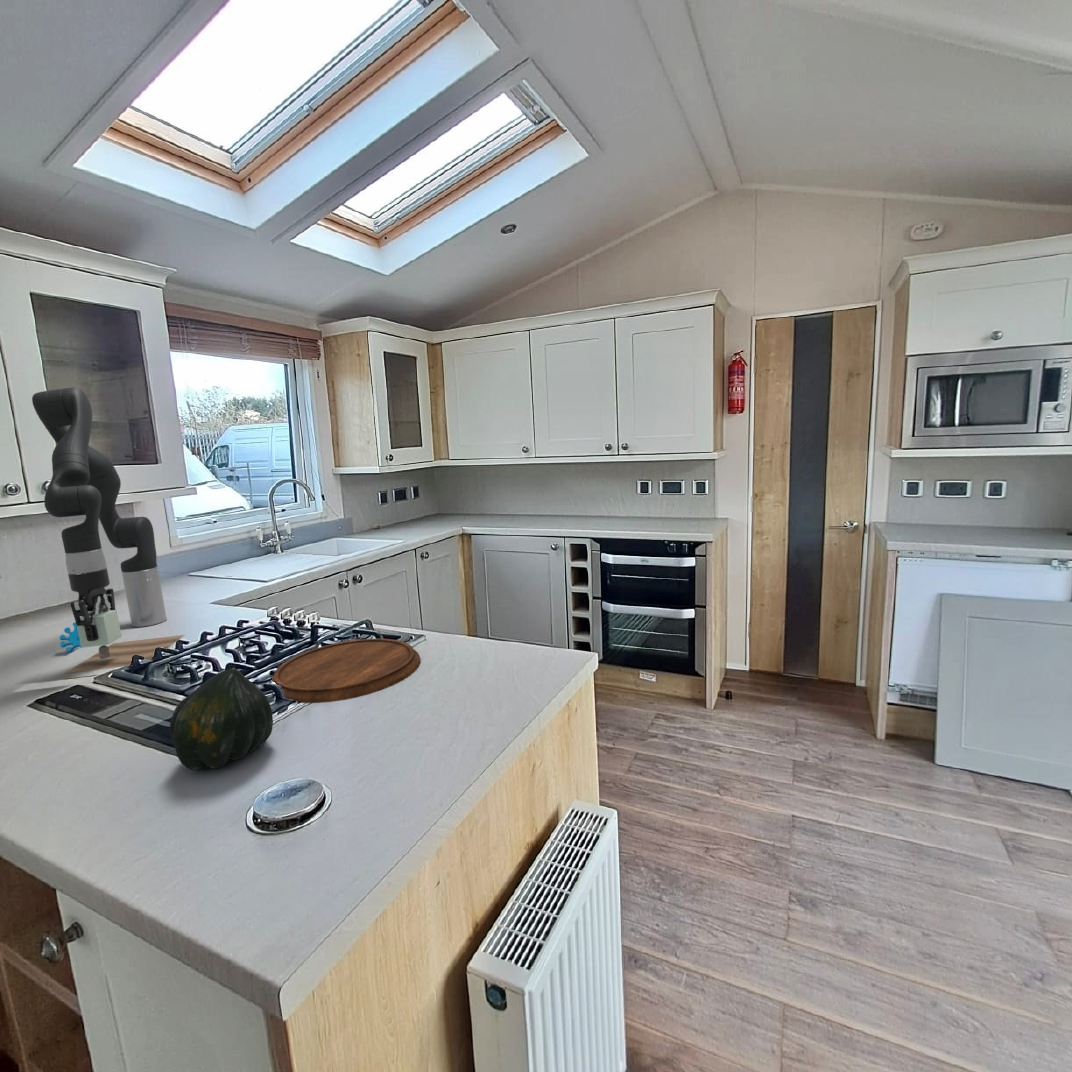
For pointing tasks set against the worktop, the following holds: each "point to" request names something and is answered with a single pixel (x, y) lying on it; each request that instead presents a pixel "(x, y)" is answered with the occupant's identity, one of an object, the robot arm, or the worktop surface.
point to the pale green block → (102, 629)
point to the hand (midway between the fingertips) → (100, 635)
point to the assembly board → (123, 653)
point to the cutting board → (346, 670)
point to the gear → (71, 639)
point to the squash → (220, 721)
